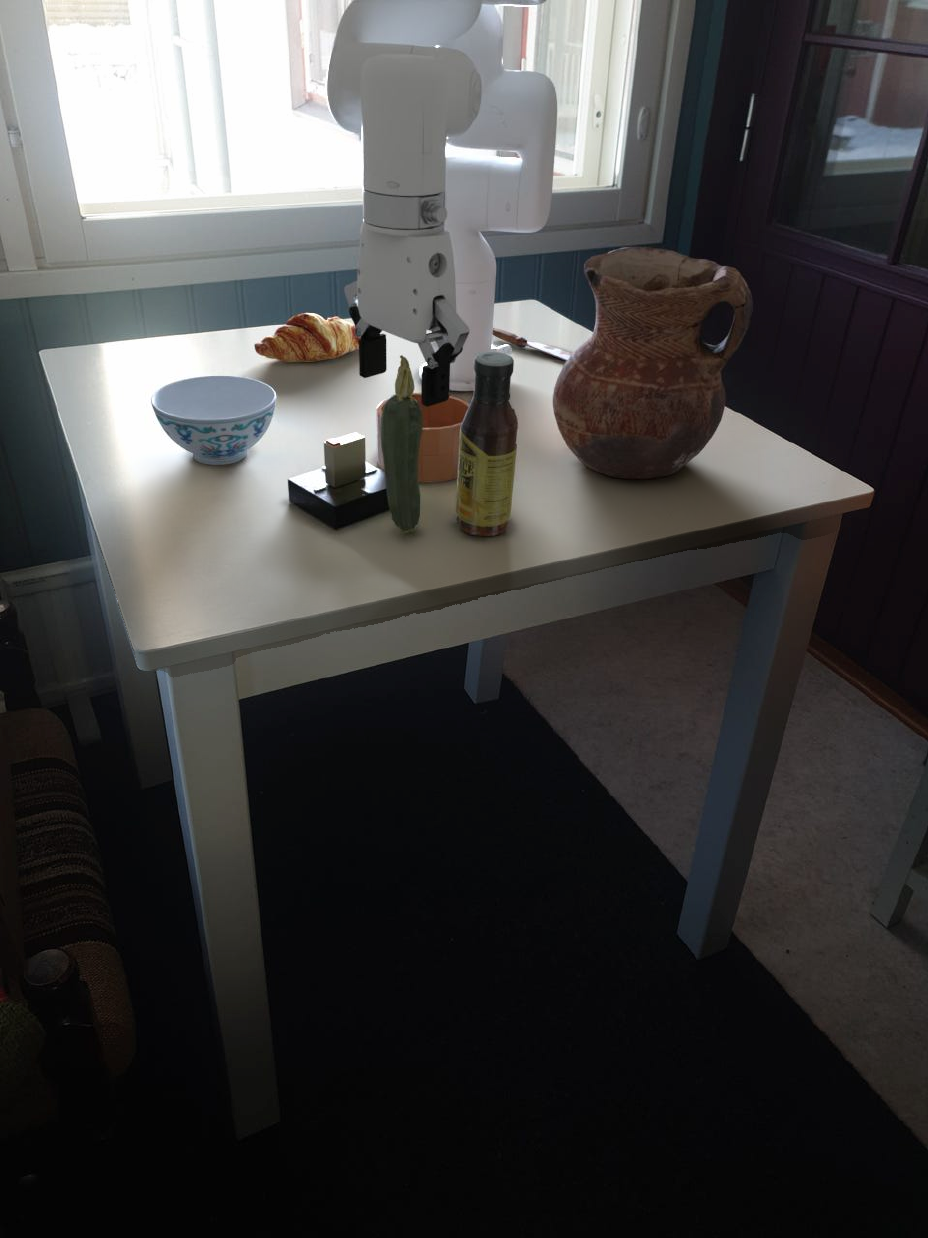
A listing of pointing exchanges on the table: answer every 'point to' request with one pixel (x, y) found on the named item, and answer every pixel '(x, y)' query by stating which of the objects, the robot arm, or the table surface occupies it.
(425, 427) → the terracotta pot
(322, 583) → the table surface
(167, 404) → the chinaware
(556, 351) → the kitchen knife
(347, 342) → the croissant
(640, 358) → the jug
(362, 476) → the hob knob
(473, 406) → the sauce bottle
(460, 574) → the table surface
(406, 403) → the vegetable
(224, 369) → the table surface
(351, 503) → the panel
